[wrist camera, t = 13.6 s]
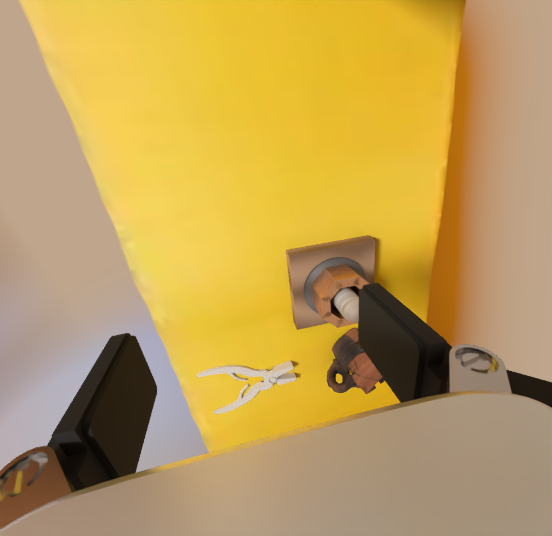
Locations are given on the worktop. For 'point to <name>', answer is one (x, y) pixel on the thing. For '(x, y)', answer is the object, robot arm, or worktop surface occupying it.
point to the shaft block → (311, 263)
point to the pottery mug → (352, 366)
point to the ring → (334, 291)
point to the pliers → (268, 376)
